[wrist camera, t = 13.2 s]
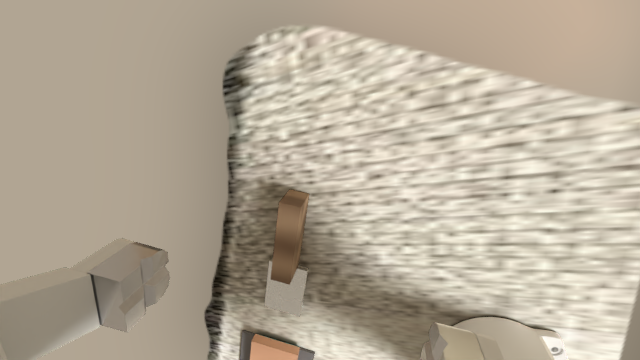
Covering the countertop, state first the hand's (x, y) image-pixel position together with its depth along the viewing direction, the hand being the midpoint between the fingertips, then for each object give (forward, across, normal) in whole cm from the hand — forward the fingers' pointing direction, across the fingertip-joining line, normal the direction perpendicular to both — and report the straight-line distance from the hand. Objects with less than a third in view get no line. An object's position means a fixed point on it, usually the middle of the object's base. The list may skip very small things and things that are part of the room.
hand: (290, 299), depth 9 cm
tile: (+27, +7, +38) cm, 47 cm away
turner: (+29, +7, +21) cm, 36 cm away
